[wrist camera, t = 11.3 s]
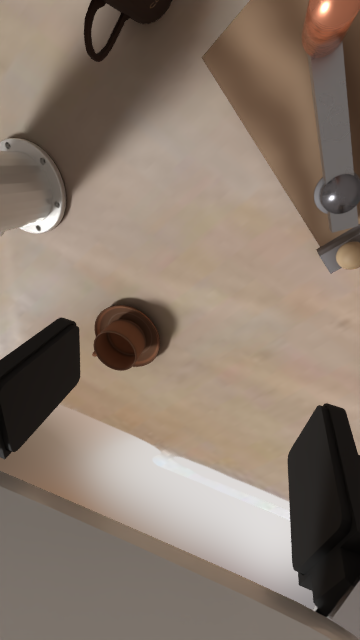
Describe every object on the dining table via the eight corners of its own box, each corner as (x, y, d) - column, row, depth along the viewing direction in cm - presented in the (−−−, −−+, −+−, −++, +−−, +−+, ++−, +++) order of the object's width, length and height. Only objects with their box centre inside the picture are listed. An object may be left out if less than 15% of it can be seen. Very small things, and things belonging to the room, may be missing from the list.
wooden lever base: (325, 263, 36) (336, 284, 29) (201, 66, 30) (182, 41, 24) (495, 167, 27) (559, 168, 21) (367, -128, 22) (403, -243, 16)
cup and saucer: (136, 370, 54) (121, 392, 49) (88, 326, 52) (68, 345, 47) (177, 338, 48) (165, 359, 42) (125, 287, 46) (105, 302, 41)
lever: (360, 221, 30) (387, 238, 23) (323, 230, 32) (337, 250, 25) (342, 1, 23) (371, -70, 16) (295, 25, 25) (304, -29, 18)
